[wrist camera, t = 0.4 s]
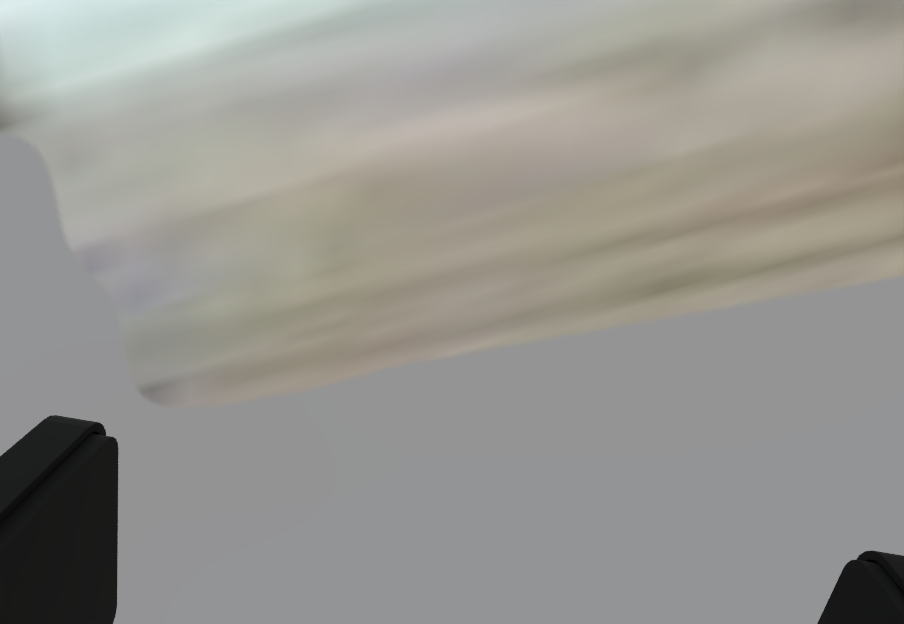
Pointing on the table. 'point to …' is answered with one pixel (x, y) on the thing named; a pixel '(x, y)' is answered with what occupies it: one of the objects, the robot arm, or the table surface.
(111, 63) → the table surface
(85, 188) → the table surface
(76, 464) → the robot arm
